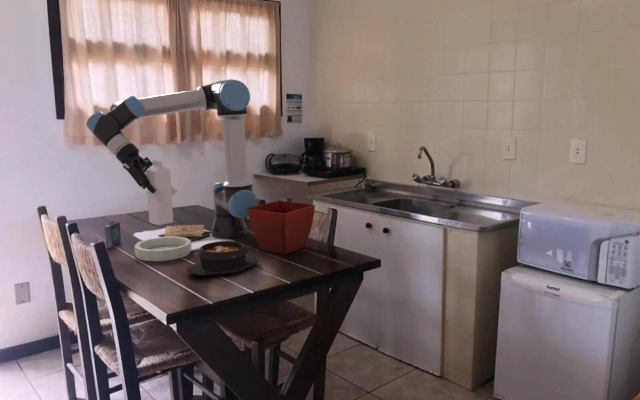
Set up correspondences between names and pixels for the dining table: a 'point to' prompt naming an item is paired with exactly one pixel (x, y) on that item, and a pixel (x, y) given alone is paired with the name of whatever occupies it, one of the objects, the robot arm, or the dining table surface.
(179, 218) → the dining table surface
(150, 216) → the milk
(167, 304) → the dining table surface
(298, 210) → the plant pot
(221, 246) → the casserole
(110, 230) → the flask
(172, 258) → the bowl
